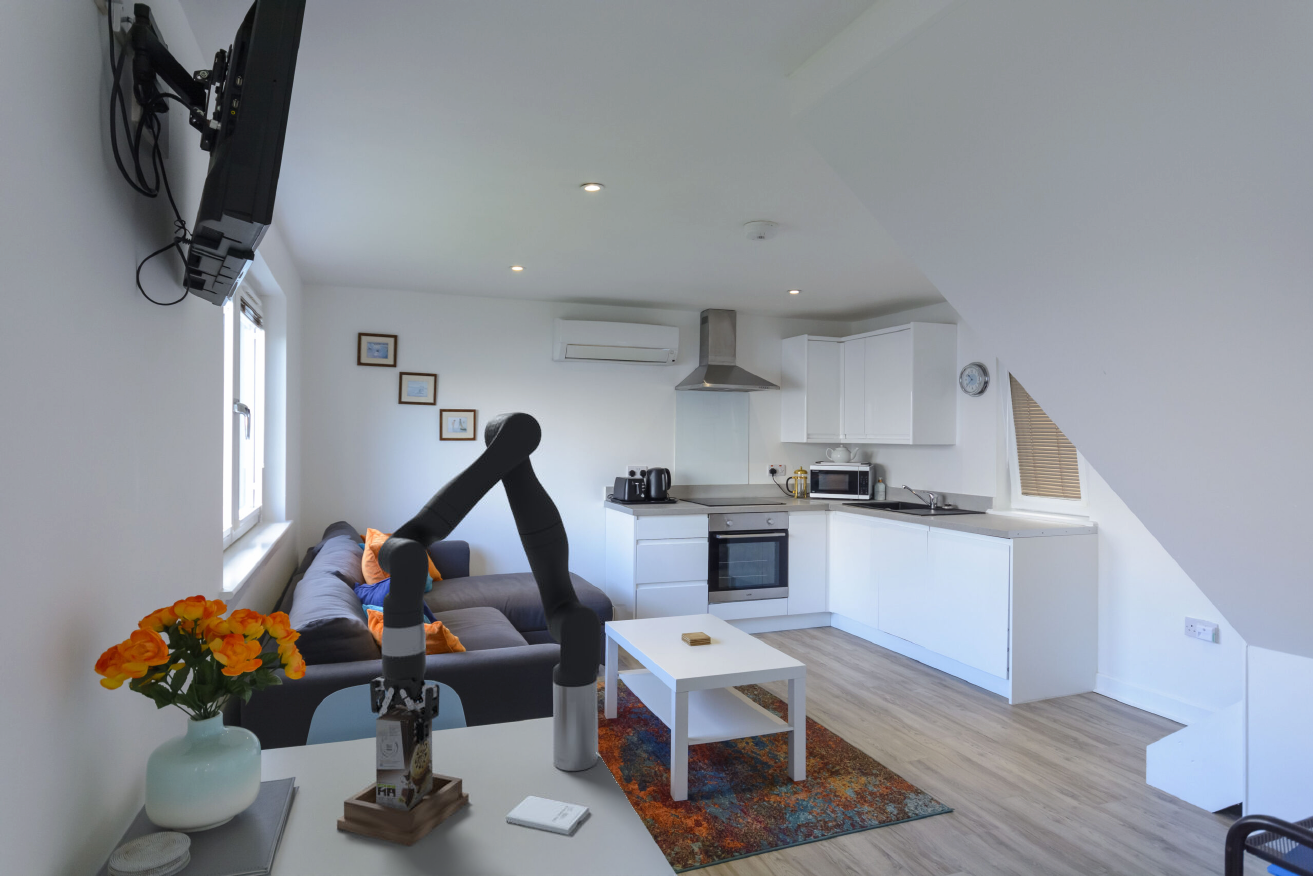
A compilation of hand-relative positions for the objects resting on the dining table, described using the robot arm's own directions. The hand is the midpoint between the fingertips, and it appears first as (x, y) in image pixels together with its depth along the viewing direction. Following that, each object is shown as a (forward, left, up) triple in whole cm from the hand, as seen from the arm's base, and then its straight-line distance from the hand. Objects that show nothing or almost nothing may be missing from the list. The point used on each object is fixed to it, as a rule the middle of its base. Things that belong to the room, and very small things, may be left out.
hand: (405, 739), depth 133 cm
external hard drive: (-8, +25, -14) cm, 30 cm away
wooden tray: (0, 0, -14) cm, 14 cm away
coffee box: (0, 0, -11) cm, 11 cm away
